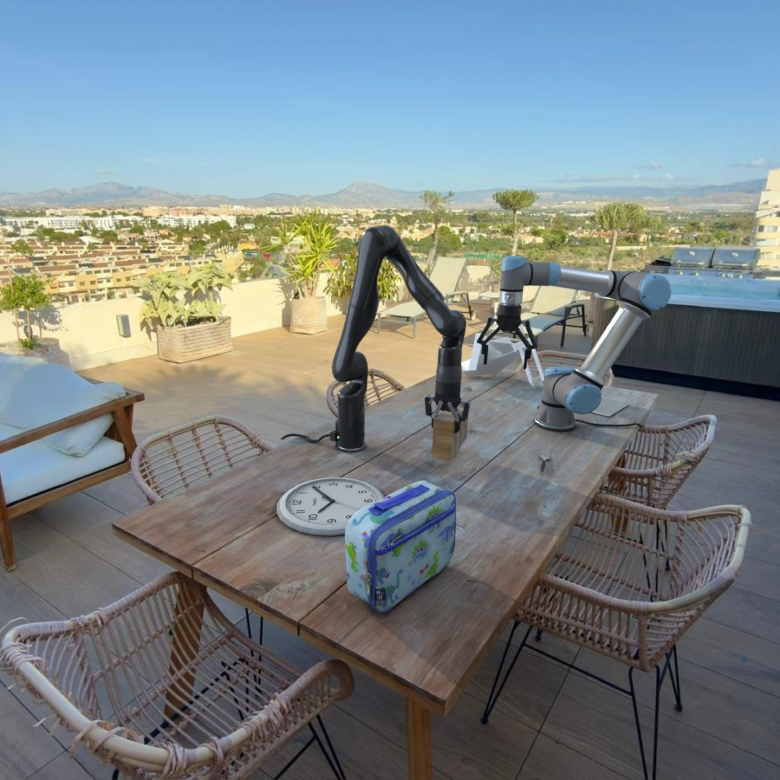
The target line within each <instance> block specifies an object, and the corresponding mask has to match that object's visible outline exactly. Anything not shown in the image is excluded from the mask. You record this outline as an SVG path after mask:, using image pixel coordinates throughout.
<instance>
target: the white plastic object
mask: <svg viewBox="0 0 780 780" xmlns="http://www.w3.org/2000/svg"><path fill="white" fill-rule="evenodd" d="M519 328H520V330H521V332H522V333H523V334H524V336H525V337H526V334H525V331H524V328H523V324H521V325H520V326H519ZM481 333H482V332H476V333H475V335H474V336H475V337H474V341H473V345H472V348H471V349H472V350H471V354H470V358H468V359H466V360H464V361H461V370H462V373H463V374H464V375H465V376H466V377H475V376H484V375H493V376H495V375H498V374H502V373H503V371H502V370H504V369H505V368H507V367H508V366H509V365H511V364H513V363H514V362H516V360H518V359H519V358H520V359H521V361H522V364H523V365H524V357H525V350H526V349H527V348H526V346H525V345H524V343H523V342H522V341H521V340H520V341H518V342H515V343H514V342H512V340H511V339H510V337H509V336H505V337H500V338H496V339H491V340H490V341H489V342H488V343H487V344H486V345H488V358H487V364H486V365H483V363H484V355H482V354H481V350H482V345H481V344H479V343H477V340H478V338H479V336H480V335H481ZM487 337H488V336H487V334H485V336H484V338H483V339H482V340H483V341H484V340H485V339H486V338H487ZM526 339H527V340H528V341H529V343H530V344H531V345H532V343H531V340H530V338H529V337H528V338H527V337H526ZM531 354H532V356H533V359H534V362H535V365H536V368H537V371H538V374H539V377H540V381H541V382H542V383H543V382H544V373H545V371H544V369H543V366H542V364H541V361H540V358H539V355H538V352H537V348H536V349H532V353H531ZM524 370H525V373H526V377H527V379H528V382H529V384H530V386H531V387H532V388H533V389H534V390H536V384H535V380H534V377H533V375H532V374H533V373H532V372H531V368H530V365H529V363H528V361H527V368H526V369H524Z"/></svg>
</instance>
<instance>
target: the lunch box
mask: <svg viewBox="0 0 780 780" xmlns="http://www.w3.org/2000/svg"><path fill="white" fill-rule="evenodd" d="M456 531H457V499H456V495H455V493H454V492H453V490H450V489H442V488H440V487H439V486H437V485H435V484H433V483H432V482H430V481H428V480H418V481H416V482H413V483H410V484H409V485H406V486H405V487H402V488H400V489H398V490H396V491H394V492H392V493H390V494H388V495H385V497H384V498H382V499H380V500H378V501H376V502H374V503H372V504H370V505H368V506H366V507H364V508H362V509H360V510H358V511H357V512H355V513H354V514H353V515H352V517H351V518H350V520H349V522H348V524H347V527H346V531H345V534H344V552H345V577H346V578H345V580H346V586H347V589H348V592H349V593H350V594H352V595H354V596H356V597H357V598H359V599H361V600H363V602H365V603H367V604H368V605H370V607H371V608H372V609H373V610H375V611H376V612H378V613H380V614H382V613H383V614H385V613H387V612H389V611H391V609H393V608H394V607H395V606H396V605H397V604H400V602H401V601H402V600H404V599H406V597H409V596H410V595H411V594H412V593H414V592H415V591H416V590H417V589H418V588H420V587H421V586H422V585H423V584H424V583H425V582H427V581H428V580H430V579H432V578H433V577H434V576H436V575H437V574H439V573H441V572H442V571H443V570H445V568H446V567H447V566H448V564H449V563H450V561H451V560H452V557H453V554H454V551H455V548H456V547H455V546H456Z"/></svg>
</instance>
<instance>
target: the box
mask: <svg viewBox="0 0 780 780" xmlns="http://www.w3.org/2000/svg"><path fill="white" fill-rule="evenodd" d="M458 409H459V413H460V416H462V414H463V409H464V408H462V405H461V404H459V405H458ZM469 413H470V411H469V412H468V416H467V419H466V420H465V421H461V424H460V430H459V432H457V434H456V433H454V429H455V422H456V421H455V418H454V416H453V415H452V413H451V412H448V411H441V410H440V412H439V413H438V415H437V416H436V417H435V419H434V423H433V428H432V443H431V444H432V448H431V459H433V460H439V461H445V462H452V461H453V460H454V458H455V456H456V455H457V453H458V452H459V450H460V449H461V447H462V446H463V444H464V443H465V442H466V440H467V439H468V428H469V427H468V426H469Z"/></svg>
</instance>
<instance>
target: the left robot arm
mask: <svg viewBox="0 0 780 780" xmlns="http://www.w3.org/2000/svg"><path fill="white" fill-rule="evenodd" d="M358 244H359V245H358V252H357V261H356V268H355V273H354V279H353V282H352V287H351V292H350V296H349V298H348V303H347V308H346V313H345V317H344V322H343V325H342V330H341V333H340V337H339V340H338V344H337V346H336V349H335V352H334V355H333V358H332V362H331V373H332V377H333V378H334V380H335V381H336V382H338V383H345V384H344V385H343V386H342V387H341V388H340V389H339V390H338V391H337V395H336V397H337V419H336V420H335V421H334V423H335V424H334V426H335V427H334V428H335V429H334V430H331V431H330V432H329V433H326V434H323V435H321V436H320V437H319V438H317V439H311V438H310V437H309V436H308V435H304V434H300V433H288V434H285V435H283V436H282V437H280V440H281V441H283V440H285V439H287V438H289V437H298V438H302V439H306V440H307V442H309V443H319V442H321V441H322V440H323V439H325V438H329V441H331V442H335V447H337V448H338V449H339V450H341V451H344V452H359V451H362V450H363V449H365V447H366V435H367V433H366V394H367V391H368V380H369V363H368V360H367V357H366V356H365V354H364V353H363V352H361V351H357V349H358V348H359V345H360V343H361V342H362V340H364V338H365V337H366V336H367V334H368V333H369V332H370V330H371V328H372V327H373V326H374V323H375V321H376V319H377V314H378V310H379V306H380V292H379V284H378V277H379V274H380V271H381V267H382V264H383V261H384V259H386V260H387V261H388V262H389V263H391V264H392V265H393V267H395V268H396V270H397V272H398V273H399V275H400V276H401V278H402V281H403V284H404V285H405V288H406V289H407V291H408V293H409V294H410V296H411V297H412V298H413V300H414V301H415V302H416V303H417V304H418V305H419V307H420V308H421V309H422V310H423V311H424V312H425V315H426V316H427V318H428V320H429V321H430V323H431V324H432V326H433V327H434V329H435V330H436V331H437V333H439V334H440V335H441V342H440V344H439V346H438V348H437V361H436V362H437V363H436V370H435V387H434V395H430V394H427V395H426V396H425V397H424V409H425V410H424V411H425V416H426V417H430V418H431V422H430V423H431V424H430V426H431V428H432V429H433V423H434V419H435V417H436V416H437V415H438V414H439V413H440V412H441V411H448V412H451V413H452V415H453V416H454V418H455V421H456V422H455V429H454V433H456V434H457V432H459V430H460V424H461V421H465V420H466V419H467V416H468V417H469V415H468V412H469V413H470V408H471V407H470V406H471V401H470V400H463V399H462V397H461V389H462V377H463V374H462V373H463V369H462V365H461V362H462V360H463V347H464V342H465V338H466V337H465V336H466V330H467V319H466V316H465V314H464V313H463V312H462V311H460V310H458V309H450V308H449V306H448V305H447V304H446V302H445V296H444V294H442V292H441V290H439V289H438V287H437V286H436V284H434V283H433V281H432V280H430V278H429V277H428V276H427V275H426V273H425V272H424V271H423V270H422V268H421V267H420V266H419V264H418V263H417V261H416V260H415V258H414V257H413V255H412V254H411V252H410V251H409V250H408V248H407V247H406V245H405V243H404V241H403V240H402V238H401V237H400V235H399V233H398V232H397V231H396V230H395V228H393V227H392V226H391V225H387V224H386V225H385V224H383V225H375V226H371V227H368V228H366V229H365V230H364V231H363V232H362V234H361V236H360V239H359V243H358ZM433 402H434V404H435V405H436V407H435V408H434V411H433V408H432V403H433ZM459 404H461V405H462V408H464V409H463V414H462V416H460V413H459V409H458V405H459Z"/></svg>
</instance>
